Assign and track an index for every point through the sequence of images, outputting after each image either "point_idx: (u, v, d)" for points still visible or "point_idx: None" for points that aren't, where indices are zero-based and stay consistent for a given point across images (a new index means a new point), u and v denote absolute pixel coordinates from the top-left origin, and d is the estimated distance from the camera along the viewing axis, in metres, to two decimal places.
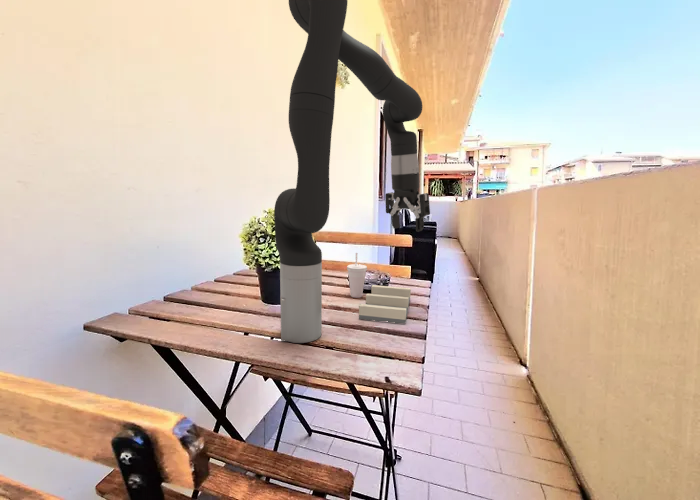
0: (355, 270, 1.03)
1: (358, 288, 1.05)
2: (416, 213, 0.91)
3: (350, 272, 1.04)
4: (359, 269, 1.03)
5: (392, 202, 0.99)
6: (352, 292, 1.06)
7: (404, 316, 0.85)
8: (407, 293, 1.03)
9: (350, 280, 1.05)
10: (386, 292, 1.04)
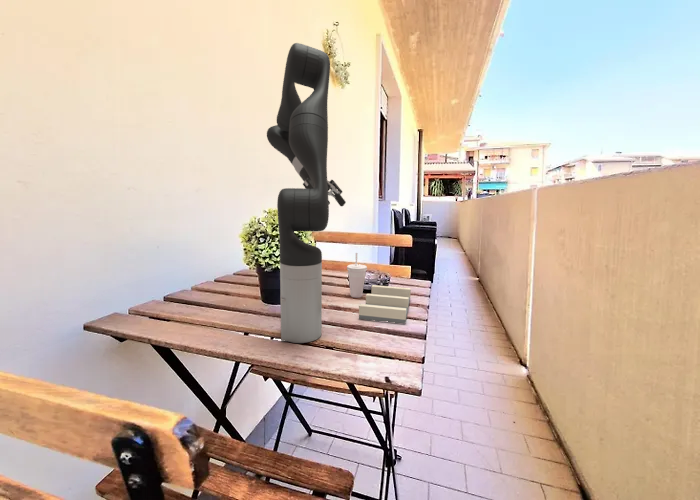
0: (355, 270, 1.03)
1: (358, 288, 1.05)
2: (337, 190, 1.11)
3: (350, 272, 1.04)
4: (359, 269, 1.03)
5: None
6: (352, 292, 1.06)
7: (404, 316, 0.85)
8: (407, 293, 1.03)
9: (350, 280, 1.05)
10: (386, 292, 1.04)
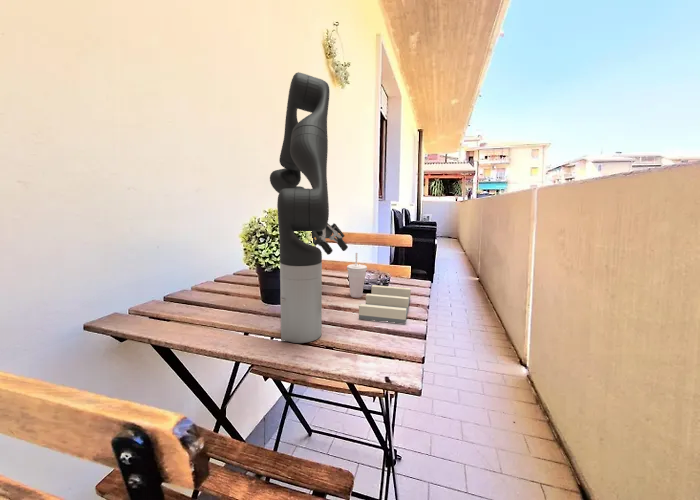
0: (355, 270, 1.03)
1: (358, 288, 1.05)
2: (339, 235, 1.13)
3: (350, 272, 1.04)
4: (359, 269, 1.03)
5: None
6: (352, 292, 1.06)
7: (404, 316, 0.85)
8: (407, 293, 1.03)
9: (350, 280, 1.05)
10: (386, 292, 1.04)
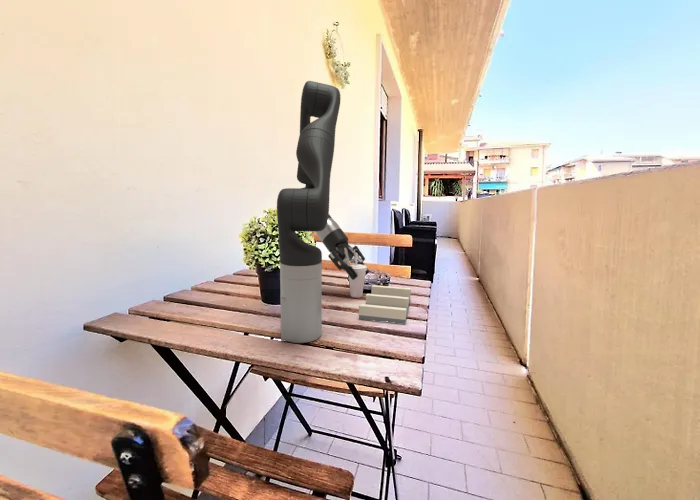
0: (355, 270, 1.03)
1: (358, 288, 1.05)
2: (360, 259, 1.09)
3: None
4: (359, 269, 1.03)
5: None
6: (352, 292, 1.06)
7: (404, 316, 0.85)
8: (407, 293, 1.03)
9: (350, 280, 1.05)
10: (386, 292, 1.04)
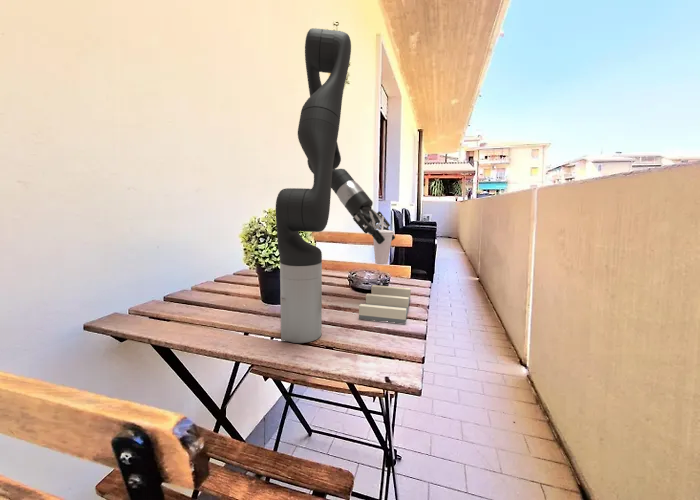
0: (382, 234, 0.95)
1: (384, 254, 0.97)
2: (385, 224, 1.02)
3: None
4: (386, 233, 0.95)
5: None
6: (377, 258, 0.98)
7: (404, 316, 0.85)
8: (407, 293, 1.03)
9: (375, 245, 0.98)
10: (386, 292, 1.04)
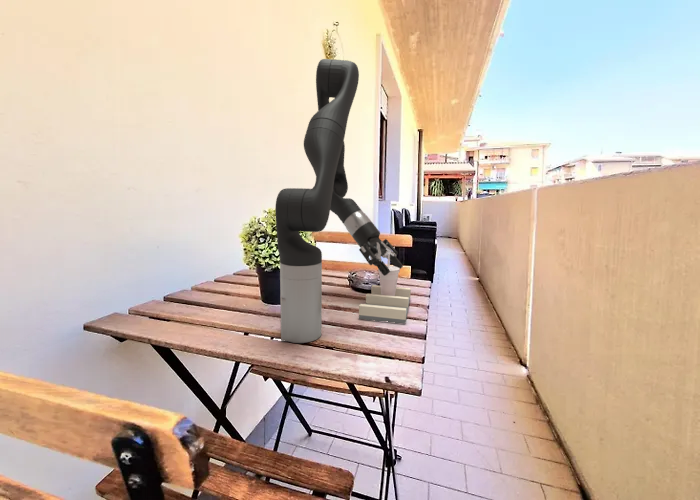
0: None
1: (390, 292, 0.98)
2: (392, 252, 1.02)
3: (382, 274, 0.97)
4: (392, 271, 0.96)
5: None
6: None
7: (404, 316, 0.85)
8: (407, 293, 1.03)
9: (382, 283, 0.98)
10: None
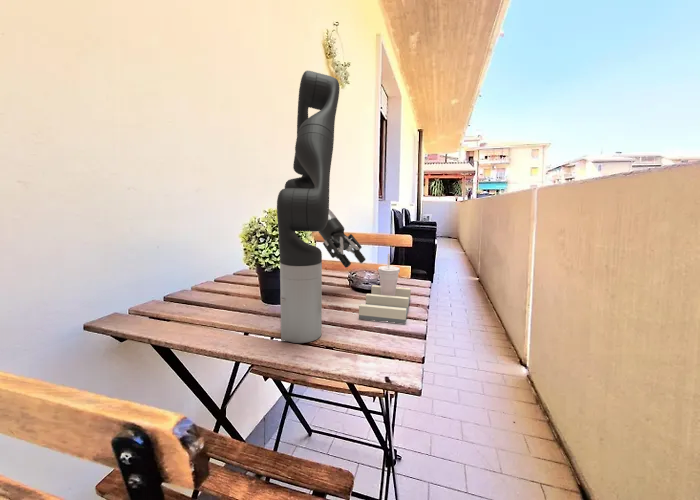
0: (388, 272, 0.96)
1: (390, 292, 0.98)
2: (356, 246, 1.09)
3: (382, 274, 0.97)
4: (392, 271, 0.96)
5: None
6: None
7: (404, 316, 0.85)
8: (407, 293, 1.03)
9: (382, 283, 0.98)
10: None
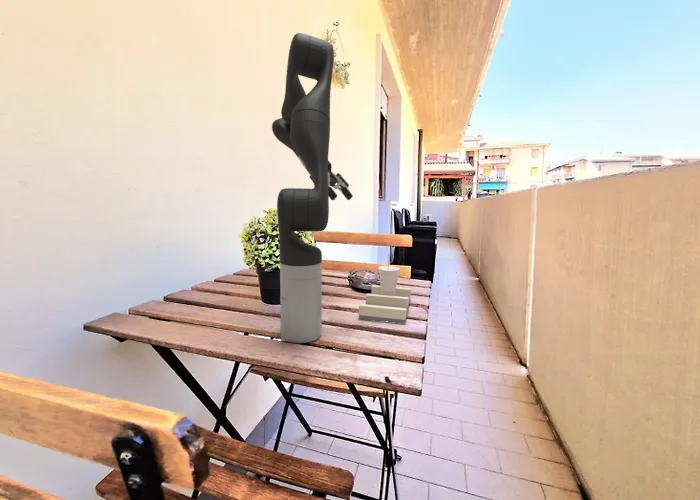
0: (388, 272, 0.96)
1: (390, 292, 0.98)
2: (344, 184, 1.09)
3: (382, 274, 0.97)
4: (392, 271, 0.96)
5: None
6: None
7: (404, 316, 0.85)
8: (407, 293, 1.03)
9: (382, 283, 0.98)
10: None
